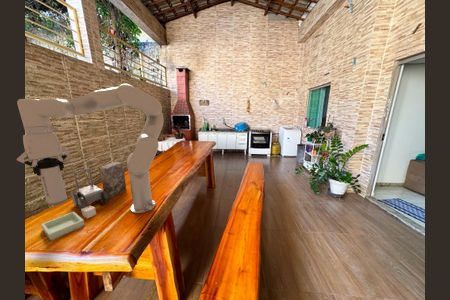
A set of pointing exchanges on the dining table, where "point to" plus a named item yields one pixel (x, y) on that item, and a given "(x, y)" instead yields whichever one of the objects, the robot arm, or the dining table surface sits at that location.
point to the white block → (88, 211)
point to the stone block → (113, 178)
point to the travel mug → (52, 181)
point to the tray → (62, 225)
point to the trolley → (88, 193)
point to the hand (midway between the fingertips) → (50, 172)
